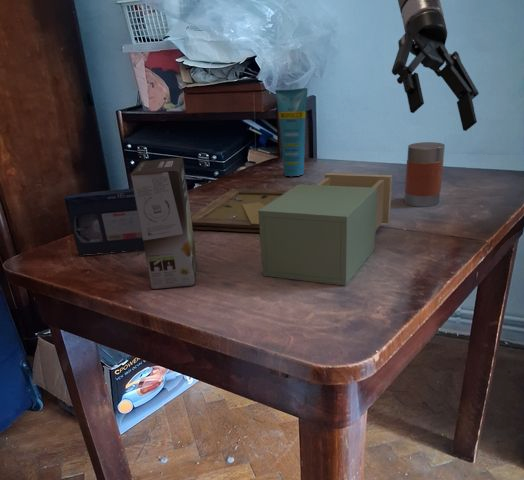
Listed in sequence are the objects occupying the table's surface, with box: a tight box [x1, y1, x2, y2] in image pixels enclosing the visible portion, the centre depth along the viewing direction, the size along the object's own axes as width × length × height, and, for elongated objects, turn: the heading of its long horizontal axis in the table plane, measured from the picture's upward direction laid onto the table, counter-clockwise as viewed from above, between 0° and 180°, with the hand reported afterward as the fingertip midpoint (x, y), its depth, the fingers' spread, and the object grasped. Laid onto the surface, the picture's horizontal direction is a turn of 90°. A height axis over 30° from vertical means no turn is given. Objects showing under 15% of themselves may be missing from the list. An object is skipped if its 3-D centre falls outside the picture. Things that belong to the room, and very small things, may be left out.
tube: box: [274, 87, 308, 177], centre depth 126 cm, size 7×5×19 cm, turn 81°
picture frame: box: [191, 188, 290, 234], centre depth 105 cm, size 19×2×24 cm
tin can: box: [403, 141, 446, 208], centre depth 102 cm, size 7×7×10 cm
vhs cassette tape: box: [63, 187, 145, 256], centre depth 89 cm, size 18×3×10 cm, turn 95°
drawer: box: [316, 172, 393, 231], centre depth 89 cm, size 18×11×8 cm, turn 155°
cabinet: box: [258, 183, 377, 287], centre depth 78 cm, size 15×13×10 cm
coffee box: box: [130, 157, 198, 290], centre depth 76 cm, size 9×6×16 cm
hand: (444, 117), depth 99 cm, fingers open, 13 cm apart
